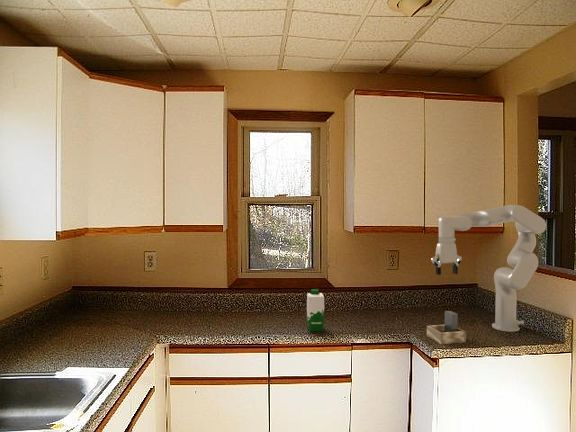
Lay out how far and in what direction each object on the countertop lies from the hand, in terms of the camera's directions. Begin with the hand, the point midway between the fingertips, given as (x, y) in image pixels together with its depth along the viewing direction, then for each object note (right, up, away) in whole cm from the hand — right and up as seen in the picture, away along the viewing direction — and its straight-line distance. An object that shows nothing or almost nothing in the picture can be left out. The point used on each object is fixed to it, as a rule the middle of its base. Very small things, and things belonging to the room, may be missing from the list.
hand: (446, 274), depth 204 cm
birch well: (-6, -29, -14) cm, 33 cm away
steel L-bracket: (-6, -29, -14) cm, 32 cm away
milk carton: (-67, -29, +2) cm, 73 cm away
